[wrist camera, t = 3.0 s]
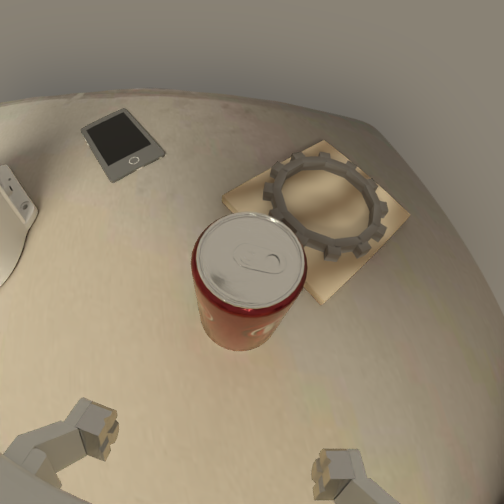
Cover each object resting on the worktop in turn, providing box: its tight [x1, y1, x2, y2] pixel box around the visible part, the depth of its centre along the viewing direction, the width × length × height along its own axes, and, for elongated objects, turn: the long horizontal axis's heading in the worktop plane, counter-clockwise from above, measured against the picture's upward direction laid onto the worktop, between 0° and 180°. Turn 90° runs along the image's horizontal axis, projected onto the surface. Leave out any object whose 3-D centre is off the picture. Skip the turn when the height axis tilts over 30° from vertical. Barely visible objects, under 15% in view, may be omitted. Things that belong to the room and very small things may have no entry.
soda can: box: [191, 212, 308, 351], centre depth 24 cm, size 7×7×12 cm
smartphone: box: [81, 108, 165, 183], centre depth 39 cm, size 15×8×1 cm, turn 39°
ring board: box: [222, 140, 410, 305], centre depth 35 cm, size 16×18×3 cm
